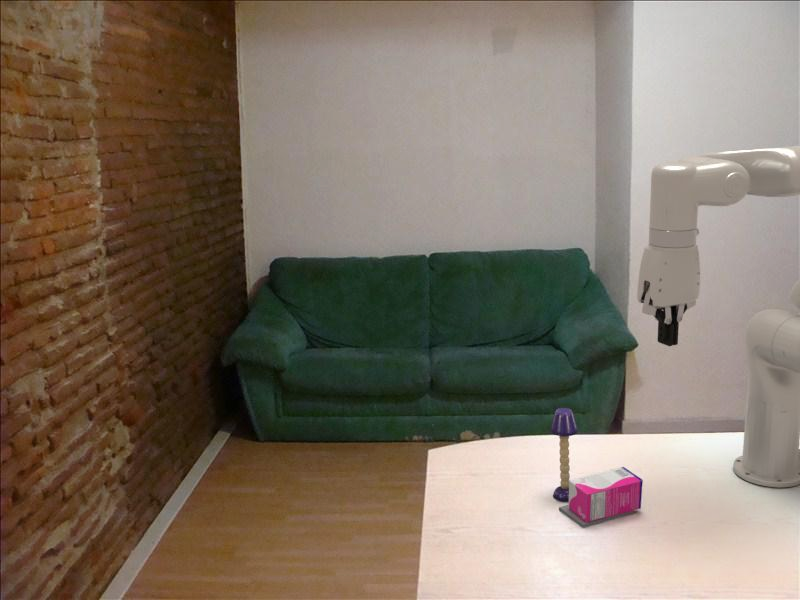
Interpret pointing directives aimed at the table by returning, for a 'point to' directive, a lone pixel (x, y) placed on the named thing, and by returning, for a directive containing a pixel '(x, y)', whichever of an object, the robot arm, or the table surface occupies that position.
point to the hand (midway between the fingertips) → (667, 343)
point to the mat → (581, 522)
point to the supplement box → (605, 494)
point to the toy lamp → (563, 448)
